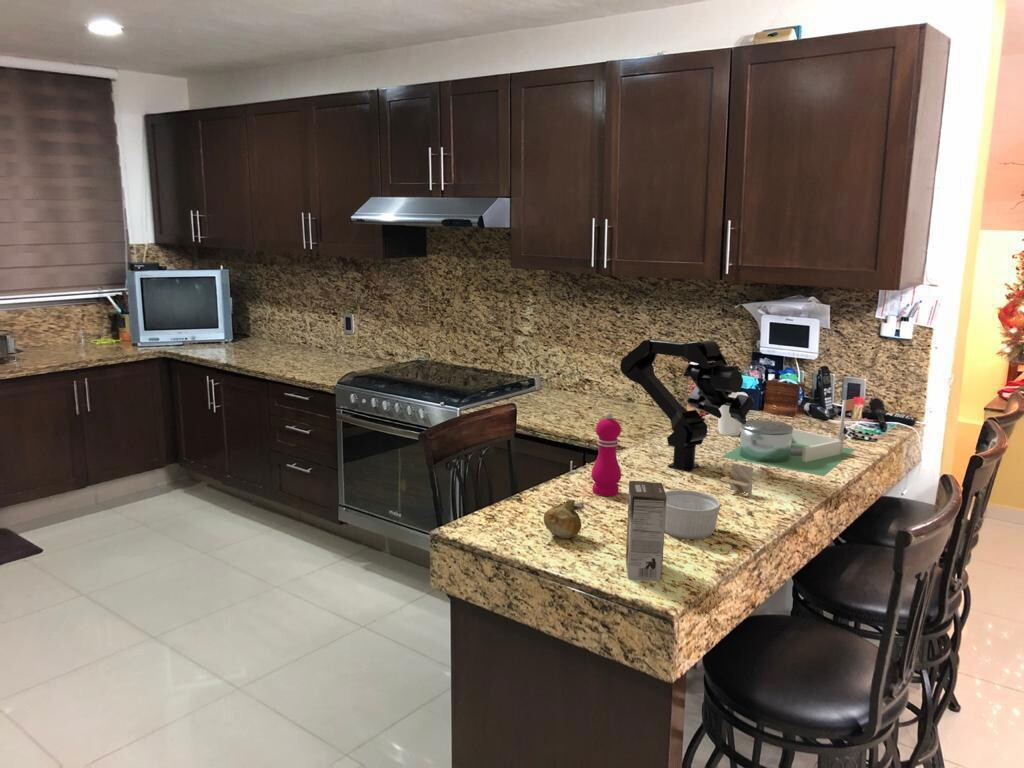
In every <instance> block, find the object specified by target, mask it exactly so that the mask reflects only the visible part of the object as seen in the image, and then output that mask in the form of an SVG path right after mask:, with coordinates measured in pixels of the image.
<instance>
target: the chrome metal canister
mask: <svg viewBox="0 0 1024 768" xmlns="http://www.w3.org/2000/svg"><path fill="white" fill-rule="evenodd" d="M793 428H794V427H793V426H792V425H790V424H789V423H788V424H787V423H784V422H780V421H774V420H767V419H766V420H764V419H751V420H746V423H745V425H743V424H741V429H740V440H739V446H740V451H739V455H740V456H741V457H743V458H745V459H748V460H752V461H757V462H764V463H782V462H787V461H789V460H790V453H791V442H792V432H793Z"/></svg>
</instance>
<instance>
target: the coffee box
mask: <svg viewBox="0 0 1024 768" xmlns="http://www.w3.org/2000/svg"><path fill="white" fill-rule="evenodd" d="M627 502H628V503H627V519H626V521H627V523H626V542H625V543H626V544H625V548H626V549H625V564H626V566H625V567H626V573H627V579H628V580H640V581H656V582H660V581H662V576H663V574H662V573H663V572H662V571H663V560H664V546H665V533H666V532H665V519H666V503H667V497H666V494H665V489H664V485H663V482H652V481H643V480H629V481H628V500H627Z"/></svg>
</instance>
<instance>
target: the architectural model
mask: <svg viewBox="0 0 1024 768" xmlns="http://www.w3.org/2000/svg"><path fill="white" fill-rule="evenodd" d="M753 477H754V467H753V466H748V465H744V464H740V463H735V462H732V463H731V472H730V473H729V476H727V475H726V476H724V477H721V478H720V481H722V482H726V483H730V489H729V490H730V491H734V490H735V491H734V492H738V493H739V495H741V494H742V493H744V492H745V493H744V494H746V493H748V494H747V497H748V496H749V495H751V494H753V485H754V484H753V482H754V481H753ZM742 495H743V494H742ZM751 496H752V495H751ZM749 497H750V496H749Z"/></svg>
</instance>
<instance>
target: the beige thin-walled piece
mask: <svg viewBox="0 0 1024 768" xmlns="http://www.w3.org/2000/svg"><path fill="white" fill-rule="evenodd" d="M855 404H856V398H850V399H842V406H841V415H840V423H839V424H840V425H839V434H838V438H835V437H830V436H826V435H822V434H818V433H814V432H811V431H810V432H809V431H806V430H802V429H798V428H794V427H793V432H792V442H795V443H799V444H803V445H807V446H809V447H803V446H798V445H791V453H790V455H791V456H802V462H808V461H812V460H817V459H821V458H826V457H830V456H834V455H839V454H842V447H844V446H843V444H844V439H843V438H844V430H845V429H844V428H845V419H846V412H848V411H854V410H855Z"/></svg>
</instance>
